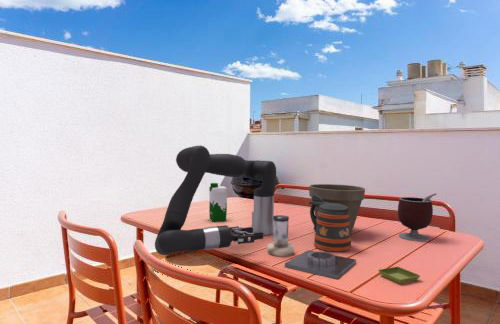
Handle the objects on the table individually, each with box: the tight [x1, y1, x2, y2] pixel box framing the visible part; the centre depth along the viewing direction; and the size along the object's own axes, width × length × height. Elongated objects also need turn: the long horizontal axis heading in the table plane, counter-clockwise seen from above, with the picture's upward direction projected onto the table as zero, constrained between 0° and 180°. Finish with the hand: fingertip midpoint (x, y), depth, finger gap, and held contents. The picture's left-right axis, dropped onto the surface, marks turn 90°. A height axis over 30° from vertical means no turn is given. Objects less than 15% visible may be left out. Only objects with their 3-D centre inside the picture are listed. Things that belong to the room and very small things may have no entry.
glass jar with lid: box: [272, 214, 290, 248], centre depth 130 cm, size 6×6×11 cm
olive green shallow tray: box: [377, 266, 421, 285], centre depth 106 cm, size 9×9×2 cm
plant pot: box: [308, 183, 366, 236], centre depth 160 cm, size 25×25×22 cm
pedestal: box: [266, 242, 295, 258], centre depth 130 cm, size 10×10×2 cm
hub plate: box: [284, 249, 357, 280], centre depth 117 cm, size 18×18×3 cm
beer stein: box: [308, 194, 352, 253], centre depth 139 cm, size 19×15×20 cm
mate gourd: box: [397, 192, 437, 242], centre depth 153 cm, size 16×14×20 cm
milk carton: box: [208, 182, 228, 223], centre depth 185 cm, size 9×9×20 cm
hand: (257, 232), depth 126 cm, fingers open, 8 cm apart
